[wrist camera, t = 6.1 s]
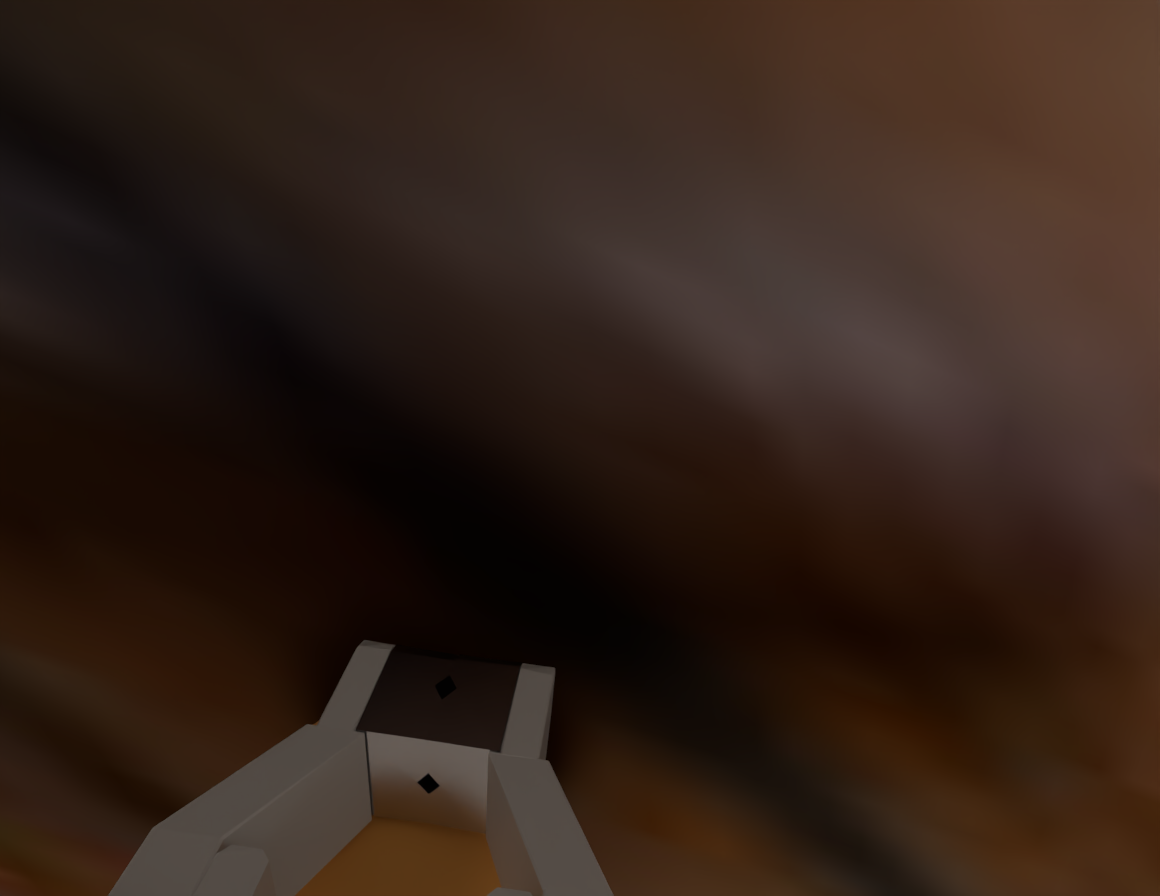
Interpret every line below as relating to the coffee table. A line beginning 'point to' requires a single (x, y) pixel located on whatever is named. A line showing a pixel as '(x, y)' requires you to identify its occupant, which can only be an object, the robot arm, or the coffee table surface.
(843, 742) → the coffee table surface
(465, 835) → the ball
